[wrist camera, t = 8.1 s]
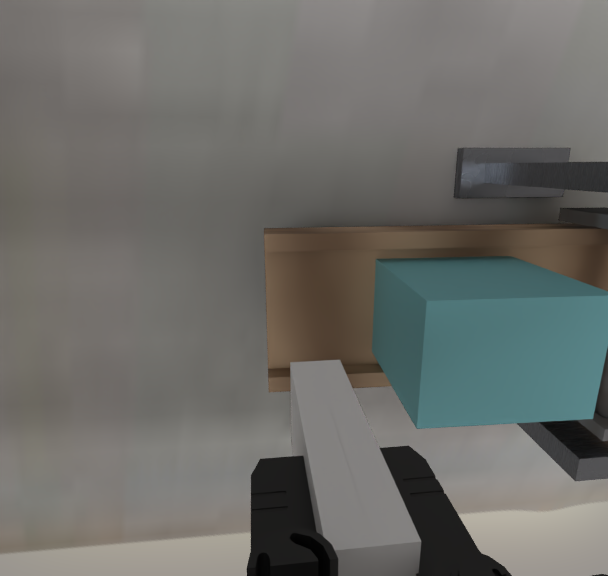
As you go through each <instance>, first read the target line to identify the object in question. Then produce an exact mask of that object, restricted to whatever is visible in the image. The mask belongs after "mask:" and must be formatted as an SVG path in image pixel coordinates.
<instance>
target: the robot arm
mask: <svg viewBox="0 0 608 576" xmlns="http://www.w3.org/2000/svg"><path fill="white" fill-rule="evenodd" d="M290 380H291V442H292V449H293V456H292V457H279V458H266V459H260V460H259V462H258V464H257V466H256V468H255V469H254V471H253V473H252V475H251V553H250V557H249V561H248V566H247V576H512V575H511V574H510V573H509V572H508V571H507V570H506V568H505V567H504V566H502V565H501V564H499V563H498V562H496V561H495V560H493V559H492V558H490V557H489V556H487V555H484V554H481V552H480V551H479V550H478V548H477V546H476V545H475V543H474V541H473V540H472V538H471V536H470V534H469V533H468V531H467V529H466V528H465V526H464V524H463V523H462V521H461V519H460V518H459V516H458V514H457V512H456V511H455V509H454V507H453V505H452V504H451V502H450V500H449V499H448V497H447V495H446V494H444V490H443V488H442V487H441V485H440V483H439V482H438V480H437V479H436V478H435V475H434V473H433V471H432V470H431V468H430V466H429V465H428V463H427V461H426V459H424V458H423V457H422V456H421V455H419V454H418V453H417V452H416V451H414V450H413V449H412V448H411V447H410V446H400V447H388V448H379V446H378V444H377V441H376V439H375V437H374V435H373V433H372V430H371V428H370V426H369V424H368V421H367V419H366V417H365V415H364V412H363V410H362V408H361V406H360V404H359V401H358V399H357V397H356V395H355V392H354V390H353V388H352V386H351V383H350V381H349V379H348V377H347V375H346V372H345V370H344V368H343V366H342V363H341V361H340V360H324V361H306V362H290ZM593 576H608V575H604V574H599V575H593Z"/></svg>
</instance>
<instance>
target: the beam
mask: <svg viewBox="0 0 608 576" xmlns="http://www.w3.org/2000/svg"><path fill="white" fill-rule="evenodd" d="M559 220H560V221H565V222H571V223H557V224H497V225H437V226H377V227H317V228H264V247H265V278H266V312H267V346H268V382H269V392H282V391H291V380H290V362H306V361H324V360H340V361H341V363H342V366H343V368H344V370H345V372H346V375H347V377H348V379H349V381H350V383H351V386H352V388H364V387H385V386H392V385H391V384H390V382H389V380H388V378H387V377H386V375H385V373H384V372H383V370H382V368H381V366H380V365H379V363H378V361H377V360H376V358H375V356H374V354H373V353H372V336H373V313H374V290H375V267H376V259H388V258H434V257H481V256H512V257H515V258H518V259H520V260H523V261H526V262H529V263H531V264H534V265H537V266H540V267H542V268H545V269H548V270H550V271H553V272H556V273H559V274H561V275H564V276H567V277H570V278H572V279H575V280H578V281H581V282H583V283H586V284H589V285H592V286H594V287H597V288H600V289H603V290H605V291H608V208H560V215H559ZM577 421H578V422H580V423H581V424H582V425H583V426H584V427H586V428H587V429H588V430H589V431H591V432H592V433H593V434H594V435H596V436H597V437H598V438H599V439H600V440H602V441H608V348H607V352H606V357H605V362H604V367H603V372H602V377H601V382H600V387H599V392H598V397H597V401H596V406H595V411H594V416H593V419H583V420H577Z"/></svg>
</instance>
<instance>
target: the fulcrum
mask: <svg viewBox="0 0 608 576" xmlns="http://www.w3.org/2000/svg"><path fill="white" fill-rule="evenodd" d="M569 154H570V148H459V149H458V155H457V167H456V178H455V189H454V197H456V198H498V197H563V192H564V189H568V190H582V191H595V192H608V162H568V160H569ZM517 424H518V425H519V426H520V427H521V428H522V429H523V430H524V431H525V432H526V433H527V434H528V435H529V436H530V437H531V438H532V439H533V440H534V441H535V442H536V443H537V444H538V445H539V446H540V447H541V448H542V449H543V450H544V451H545V452H546V453H547V454H548V455H549V456H550V457H551V458H552V459H553V460H554V461H555V462H556V463H557V464H558V465H559V466H560V467H561V468H562V469H563V470H564V471H565V472H567V473H568V474H569V475H570V476H571V477H572V478H573V479H574V480H575V481H584V480H595V479H607V478H608V441H602V440H600V439H599V438H598V437H597V436H596V435H594V434H593V433H592V432H591V431H589V430H588V429H587V428H586V427H584V426H583V425H582V424H581V423H580V422H578V421H577V420H565V421H547V422H529V423H517Z"/></svg>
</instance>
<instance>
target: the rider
mask: <svg viewBox="0 0 608 576" xmlns="http://www.w3.org/2000/svg"><path fill="white" fill-rule="evenodd" d="M607 348H608V291H605V290H603V289H600V288H597V287H594V286H592V285H589V284H586V283H583V282H581V281H578V280H575V279H572V278H570V277H567V276H564V275H561V274H559V273H556V272H553V271H550V270H548V269H545V268H542V267H540V266H537V265H534V264H531V263H529V262H526V261H523V260H520V259H518V258H515V257H512V256H481V257H434V258H388V259H376V267H375V290H374V313H373V336H372V353H373V354H374V356H375V358H376V360H377V361H378V363H379V365H380V366H381V368H382V370H383V372H384V373H385V375H386V377H387V378H388V380H389V382H390V384H391V385H392V387H393V389H394V390H395V392H396V394H397V396H398V397H399V399H400V401H401V403H402V404H403V406H404V408H405V409H406V411H407V413H408V415H409V416H410V418H411V420H412V421H413V423H414V425H415V427H416V428H417V429H422V428H440V427H458V426H476V425H494V424H511V423H529V422H547V421H565V420H583V419H593V416H594V411H595V406H596V401H597V397H598V392H599V387H600V382H601V377H602V372H603V367H604V362H605V357H606V352H607Z"/></svg>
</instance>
